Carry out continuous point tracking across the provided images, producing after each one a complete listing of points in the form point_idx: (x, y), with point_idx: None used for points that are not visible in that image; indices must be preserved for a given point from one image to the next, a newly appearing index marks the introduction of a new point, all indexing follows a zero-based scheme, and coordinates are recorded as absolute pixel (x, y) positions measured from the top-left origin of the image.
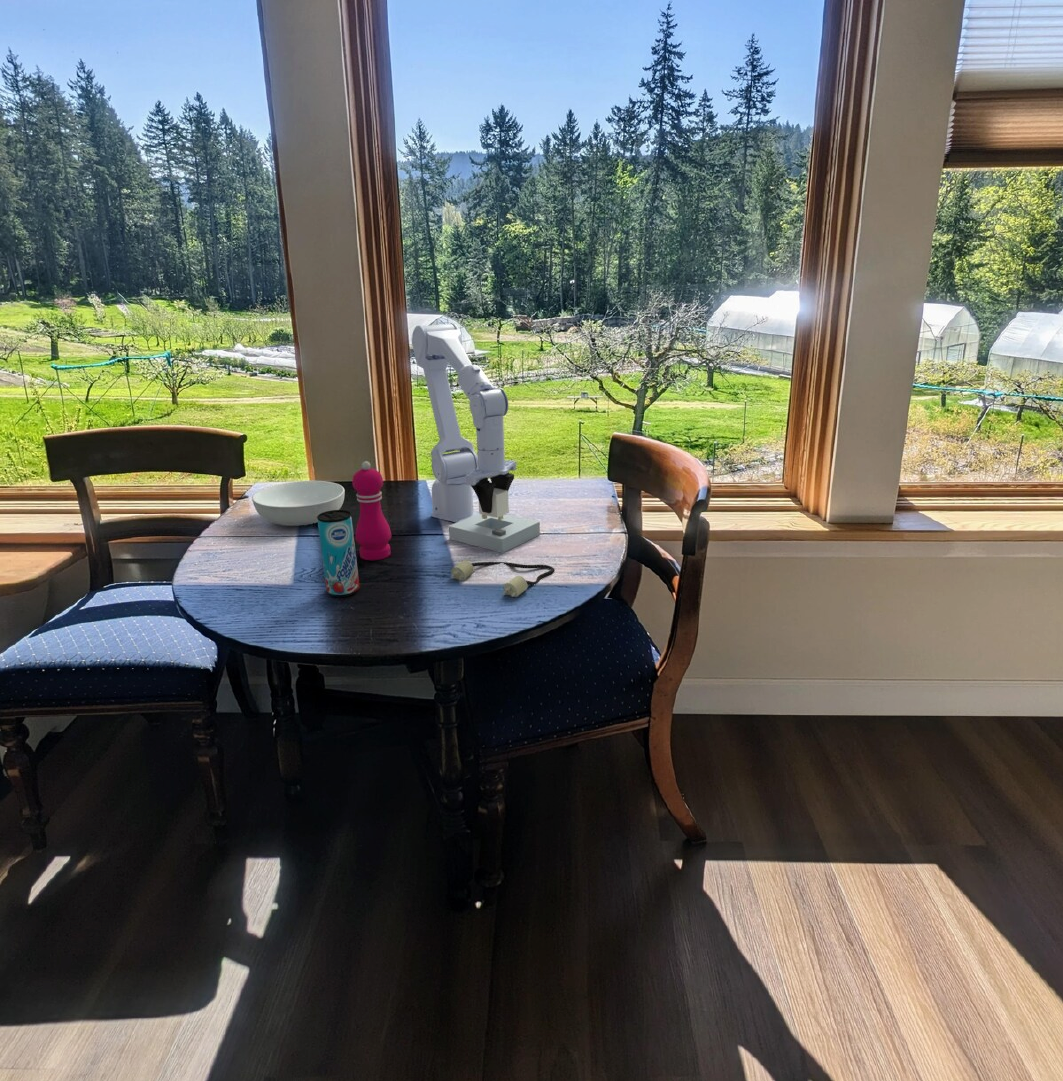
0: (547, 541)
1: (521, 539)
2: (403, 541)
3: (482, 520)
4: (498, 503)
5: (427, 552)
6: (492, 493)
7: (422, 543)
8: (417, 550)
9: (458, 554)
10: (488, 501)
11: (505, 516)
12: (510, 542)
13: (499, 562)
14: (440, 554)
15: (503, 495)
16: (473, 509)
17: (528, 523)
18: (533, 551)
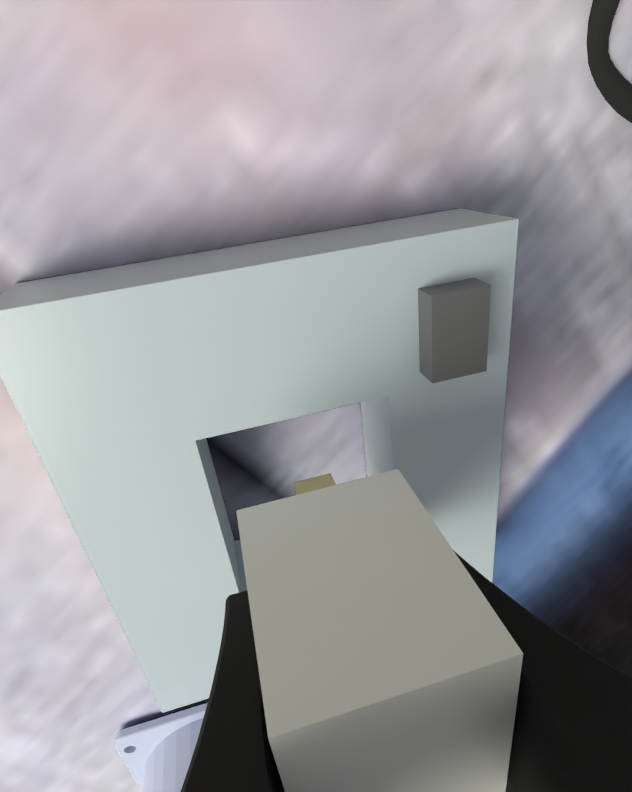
0: (59, 107)
1: (261, 247)
2: (560, 620)
3: None
4: (427, 569)
5: (618, 483)
6: (556, 696)
7: (546, 571)
8: (615, 523)
9: (586, 376)
10: (531, 616)
11: (148, 576)
12: (399, 227)
13: (616, 73)
14: (617, 431)
15: (362, 660)
16: (154, 769)
17: (103, 350)
18: (309, 31)
